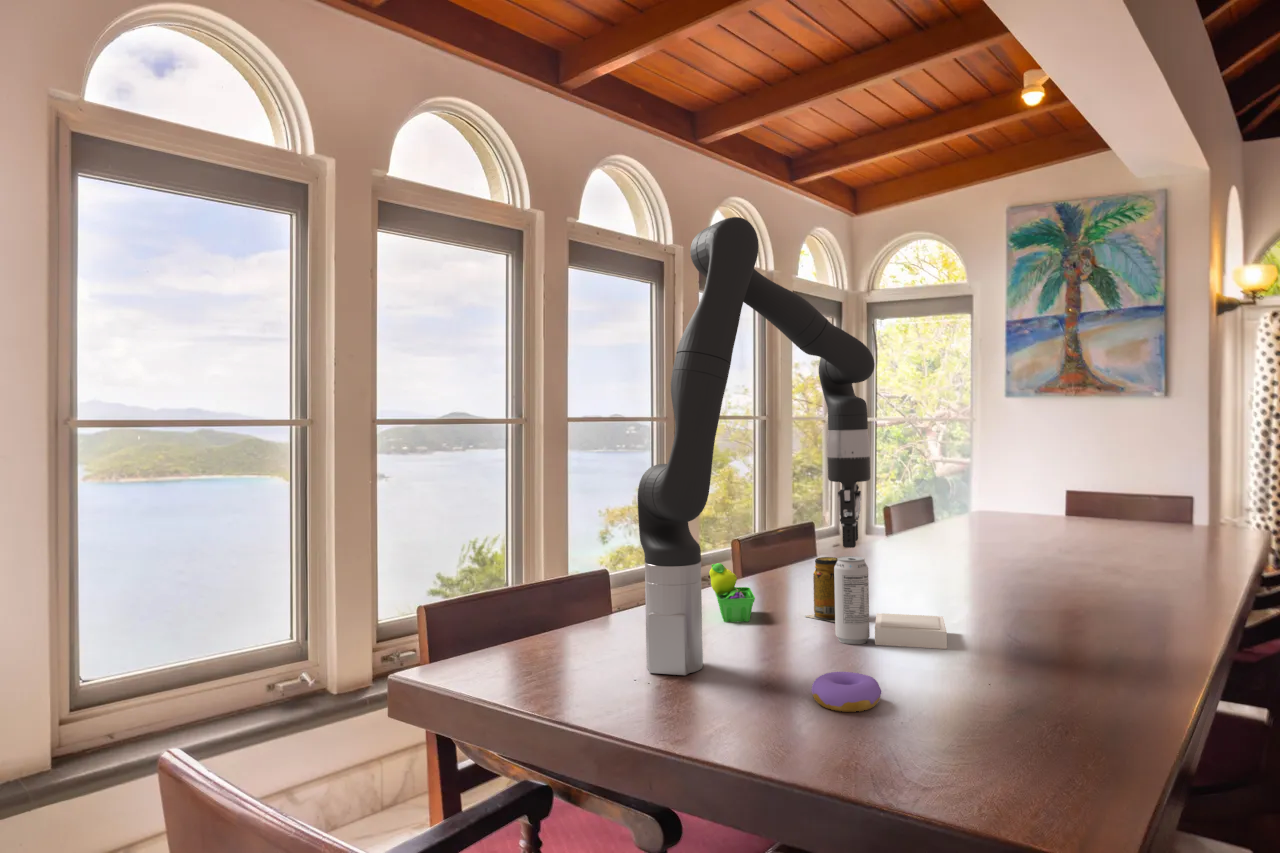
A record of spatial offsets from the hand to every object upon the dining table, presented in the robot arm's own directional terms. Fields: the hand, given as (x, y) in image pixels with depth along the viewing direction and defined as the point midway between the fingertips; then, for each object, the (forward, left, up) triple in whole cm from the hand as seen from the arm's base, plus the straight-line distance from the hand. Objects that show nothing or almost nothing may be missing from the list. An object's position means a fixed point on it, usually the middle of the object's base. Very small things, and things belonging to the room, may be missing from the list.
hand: (850, 544), depth 151 cm
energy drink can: (0, 0, -18) cm, 18 cm away
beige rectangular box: (+4, -10, -18) cm, 21 cm away
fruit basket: (+14, +25, -18) cm, 34 cm away
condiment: (+18, +5, -18) cm, 26 cm away
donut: (-35, -1, -18) cm, 39 cm away
